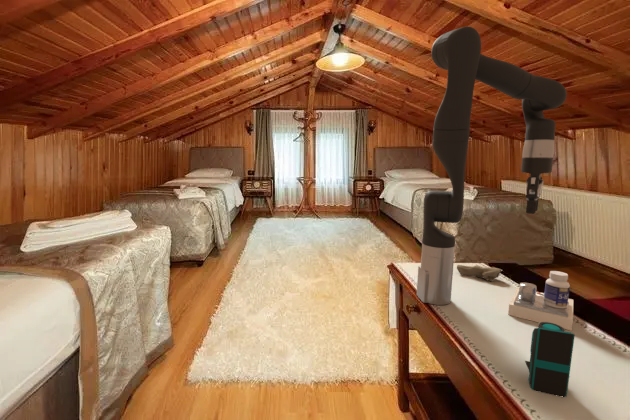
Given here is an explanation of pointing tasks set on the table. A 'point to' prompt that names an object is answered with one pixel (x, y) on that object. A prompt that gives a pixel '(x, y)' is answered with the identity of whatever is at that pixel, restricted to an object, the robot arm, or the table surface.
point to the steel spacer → (527, 291)
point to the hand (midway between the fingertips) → (531, 212)
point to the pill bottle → (557, 290)
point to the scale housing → (541, 313)
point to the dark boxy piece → (550, 359)
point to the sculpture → (479, 271)
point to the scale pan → (541, 306)
